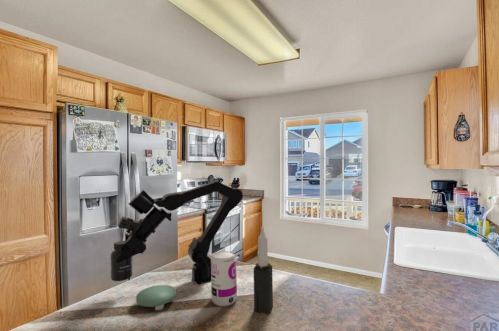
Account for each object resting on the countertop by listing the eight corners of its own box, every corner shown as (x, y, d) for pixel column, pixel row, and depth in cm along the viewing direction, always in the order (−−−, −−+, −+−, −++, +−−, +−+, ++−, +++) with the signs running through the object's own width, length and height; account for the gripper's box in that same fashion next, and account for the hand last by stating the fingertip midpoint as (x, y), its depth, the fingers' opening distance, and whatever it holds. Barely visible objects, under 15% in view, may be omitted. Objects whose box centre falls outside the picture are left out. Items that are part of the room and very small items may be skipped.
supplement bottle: (124, 282, 86) (123, 245, 86) (106, 281, 88) (105, 245, 88) (137, 273, 93) (136, 239, 93) (120, 272, 94) (119, 239, 94)
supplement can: (241, 297, 88) (240, 252, 88) (228, 309, 81) (228, 260, 81) (220, 292, 92) (219, 249, 92) (206, 304, 84) (206, 257, 84)
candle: (273, 305, 83) (272, 225, 83) (269, 314, 78) (268, 229, 78) (258, 303, 84) (257, 224, 84) (253, 311, 80) (251, 228, 80)
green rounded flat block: (170, 290, 94) (169, 282, 94) (180, 305, 84) (180, 295, 84) (133, 299, 88) (133, 290, 88) (139, 317, 77) (139, 307, 77)
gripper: (132, 204, 100) (99, 237, 96) (134, 212, 84) (94, 252, 79) (154, 223, 104) (124, 255, 99) (160, 233, 87) (124, 273, 82)
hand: (117, 258), depth 90 cm, fingers closed on supplement bottle, 7 cm apart
